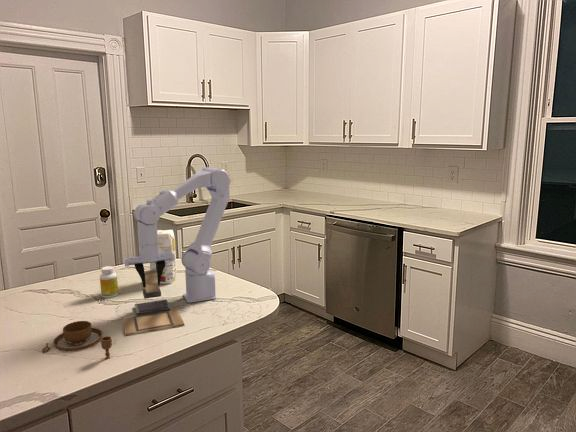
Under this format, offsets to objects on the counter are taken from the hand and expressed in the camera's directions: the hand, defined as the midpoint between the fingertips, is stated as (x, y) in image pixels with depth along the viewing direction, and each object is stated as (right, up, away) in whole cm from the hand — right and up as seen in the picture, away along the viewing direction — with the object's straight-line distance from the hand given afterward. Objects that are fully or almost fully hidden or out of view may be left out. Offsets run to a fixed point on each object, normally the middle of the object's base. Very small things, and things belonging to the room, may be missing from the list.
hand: (151, 285), depth 139 cm
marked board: (+3, -10, -8) cm, 13 cm away
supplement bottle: (-18, -6, +13) cm, 23 cm away
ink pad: (0, -8, +2) cm, 8 cm away
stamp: (0, -3, +1) cm, 3 cm away
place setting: (-12, -14, -23) cm, 29 cm away
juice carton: (-3, -3, +27) cm, 27 cm away
